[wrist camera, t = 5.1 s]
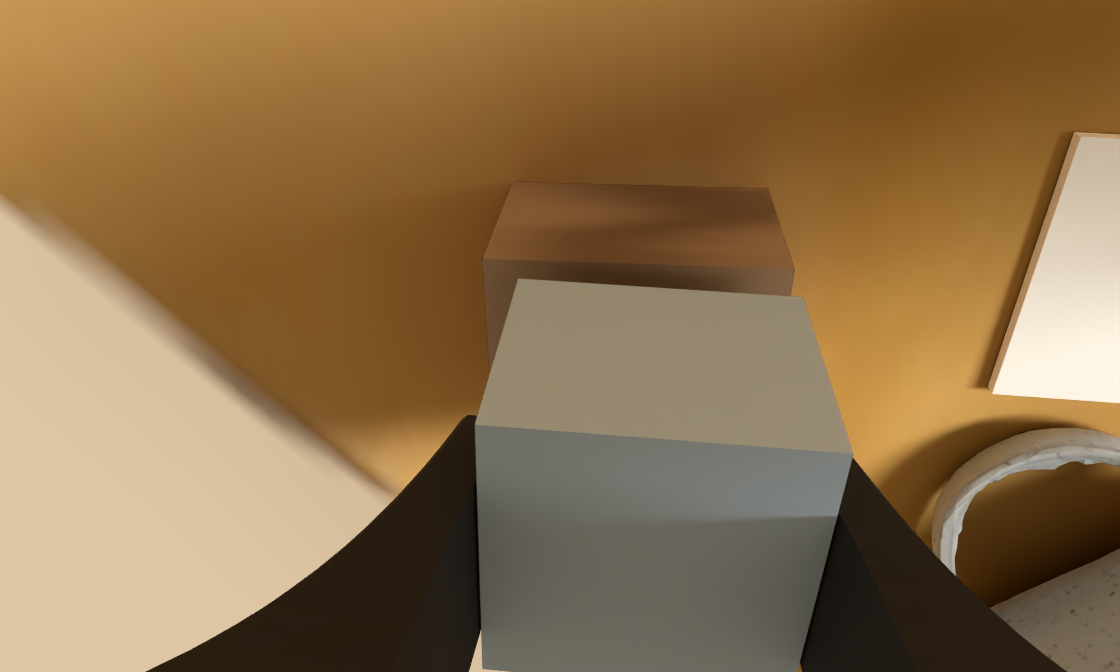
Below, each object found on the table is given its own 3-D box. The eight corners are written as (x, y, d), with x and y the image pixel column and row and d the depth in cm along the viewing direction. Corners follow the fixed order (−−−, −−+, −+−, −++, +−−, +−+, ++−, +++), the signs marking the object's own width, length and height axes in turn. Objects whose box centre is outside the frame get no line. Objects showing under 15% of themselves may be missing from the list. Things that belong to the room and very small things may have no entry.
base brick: (766, 186, 18) (794, 269, 15) (741, 396, 21) (759, 508, 17) (513, 179, 18) (482, 258, 15) (521, 386, 21) (496, 493, 18)
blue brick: (802, 297, 14) (853, 454, 10) (760, 513, 16) (790, 698, 13) (517, 278, 14) (475, 424, 11) (517, 492, 16) (482, 668, 13)
